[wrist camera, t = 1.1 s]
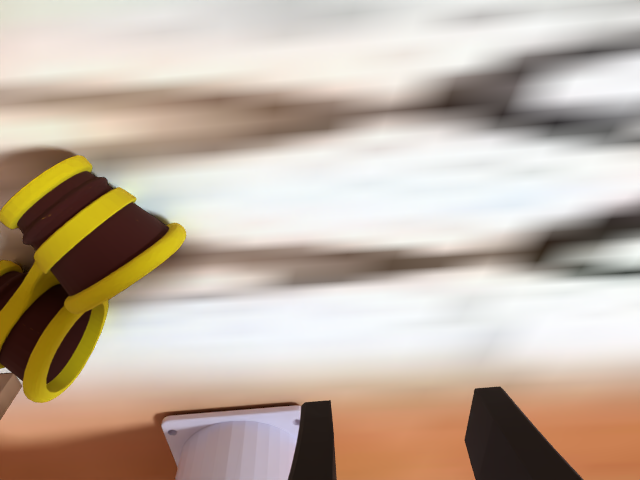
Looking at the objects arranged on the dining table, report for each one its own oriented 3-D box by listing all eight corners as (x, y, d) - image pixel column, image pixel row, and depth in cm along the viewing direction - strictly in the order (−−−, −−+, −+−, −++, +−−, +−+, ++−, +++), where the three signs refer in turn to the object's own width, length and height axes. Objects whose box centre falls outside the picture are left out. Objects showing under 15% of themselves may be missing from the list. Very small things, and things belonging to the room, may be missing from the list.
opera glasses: (97, 131, 17) (-1, 164, 12) (207, 216, 18) (153, 275, 14) (4, 287, 21) (-98, 356, 16) (100, 350, 22) (29, 432, 17)
